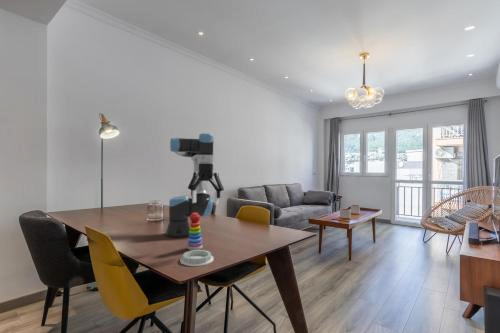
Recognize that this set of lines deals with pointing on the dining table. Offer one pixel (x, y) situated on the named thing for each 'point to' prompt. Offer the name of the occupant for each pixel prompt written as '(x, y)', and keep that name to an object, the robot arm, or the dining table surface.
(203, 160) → the robot arm
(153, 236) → the dining table surface
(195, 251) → the collar base
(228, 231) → the dining table surface
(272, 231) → the dining table surface
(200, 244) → the stacking toy
